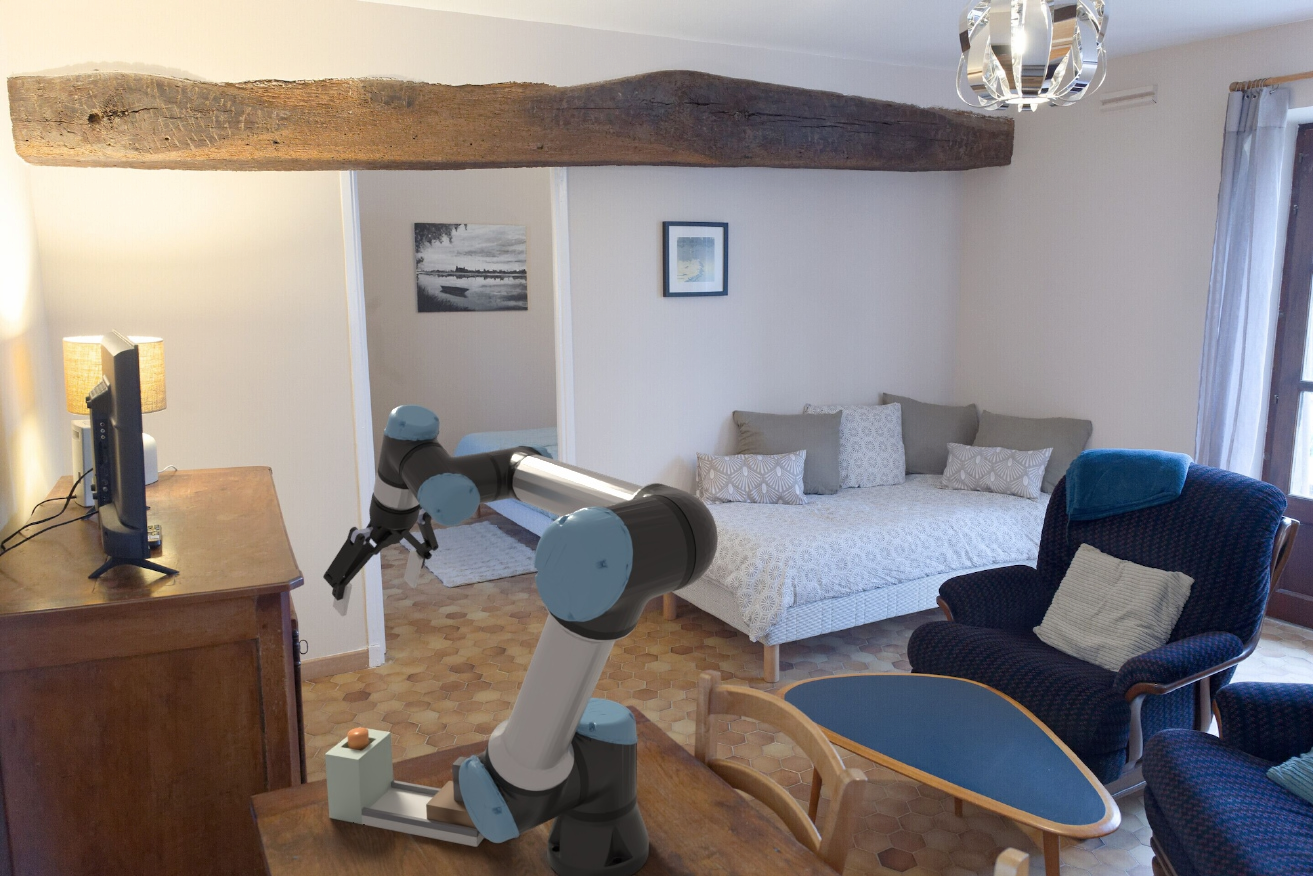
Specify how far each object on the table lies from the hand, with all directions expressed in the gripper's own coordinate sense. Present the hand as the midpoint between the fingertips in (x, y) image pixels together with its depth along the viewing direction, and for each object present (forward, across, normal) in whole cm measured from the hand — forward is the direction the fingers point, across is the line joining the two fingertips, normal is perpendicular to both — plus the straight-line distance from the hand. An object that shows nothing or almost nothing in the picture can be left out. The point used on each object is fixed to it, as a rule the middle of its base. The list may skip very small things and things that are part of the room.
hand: (375, 596), depth 153 cm
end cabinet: (+26, +10, +19) cm, 34 cm away
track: (+21, +5, +30) cm, 37 cm away
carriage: (+17, +3, +34) cm, 38 cm away
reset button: (+16, +10, +14) cm, 24 cm away
